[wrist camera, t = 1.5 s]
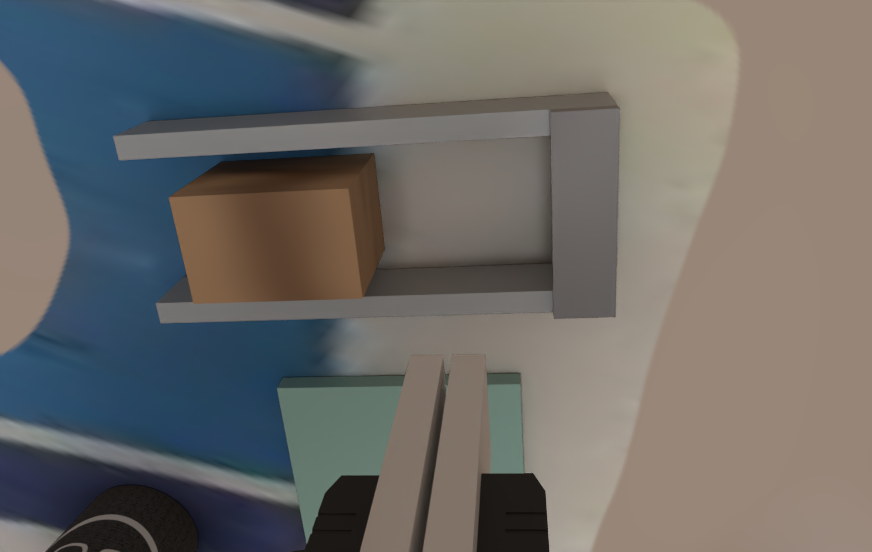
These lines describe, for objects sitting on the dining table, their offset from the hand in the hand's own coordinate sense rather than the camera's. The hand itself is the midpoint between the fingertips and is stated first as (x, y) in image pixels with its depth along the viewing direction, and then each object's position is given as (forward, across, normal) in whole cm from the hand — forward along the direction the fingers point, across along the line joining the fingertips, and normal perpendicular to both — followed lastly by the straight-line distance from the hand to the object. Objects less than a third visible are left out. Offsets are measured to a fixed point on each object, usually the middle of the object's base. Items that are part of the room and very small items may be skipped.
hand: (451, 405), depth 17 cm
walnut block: (+17, -8, 0) cm, 18 cm away
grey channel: (+16, -4, 0) cm, 17 cm away
